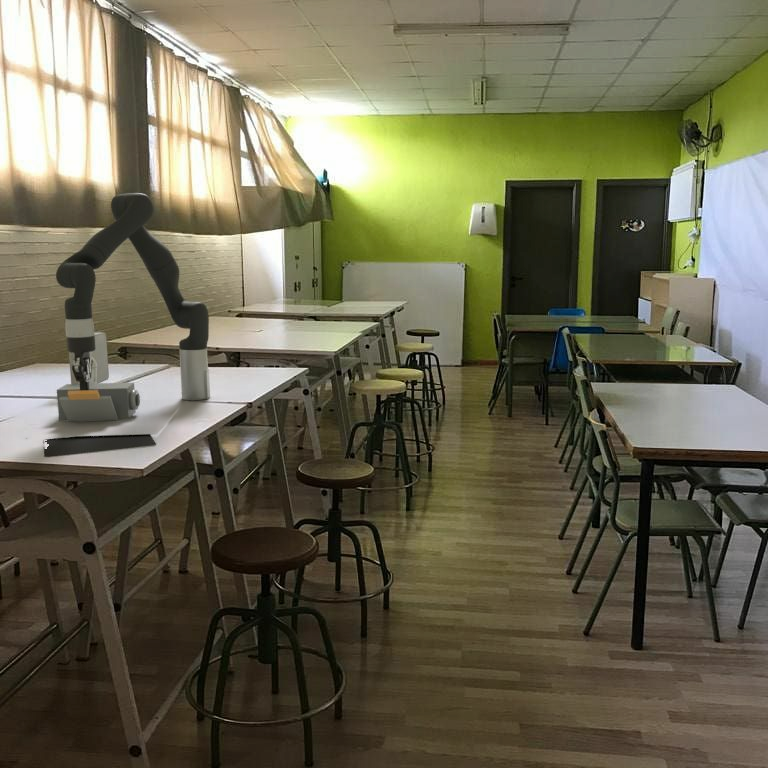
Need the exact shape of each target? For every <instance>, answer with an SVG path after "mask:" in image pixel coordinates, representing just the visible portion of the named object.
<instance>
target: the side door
mask: <svg viewBox="0 0 768 768" xmlns="http://www.w3.org/2000/svg"><path fill="white" fill-rule="evenodd" d="M68 396H69V397H60V398H59V401H60V403H61V406H62V408H63V410H64V413H65V415H66V418H67V420H66V421H67V422H95V421H99V422H100V421H104V422H105V421H118V420H119V419H118V417H117V414H116V411H115V408H114V405H113V402H112V399H111V396H100V395H99V392H98V390H81V391H68Z"/></svg>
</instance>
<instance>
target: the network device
mask: <svg viewBox="0 0 768 768" xmlns="http://www.w3.org/2000/svg"><path fill="white" fill-rule="evenodd" d="M94 333H95V346H96V349H95V350H94V351H92V354H91V356H92V357H93V358H94V359H95V361H96V363H97V381H96V382H97V383H104V382H105V381H108V380H109V378H110V373H109V370H110V369H109V358H108V357H109V355H108V343H107V342H108V341H107V333H106V332H94ZM74 355H75V354H74V353H73V352H72V353H71V352H68V357H69V358H68V360H69V371H70V373H69V374H70V384H79V382H78V381H76V379H75V376H74V373H73V370H72V366H75V365H74V363H73V359H74Z"/></svg>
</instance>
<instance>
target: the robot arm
mask: <svg viewBox="0 0 768 768" xmlns="http://www.w3.org/2000/svg"><path fill="white" fill-rule="evenodd" d="M110 210H111V213H112V216H113V218H114V220H115V221H114V222H112V223H111V224H109V225H107V226H105V227H104V228H102V229H101V230H98V231H97V232H96V233H95V234H94V235H92V236H91V238H89V240H88V241H87V242H86V243H85V244H84V246H82V248H81V249H79V250H78V251H77V252H75V253H74V254H72V255H71V256H69V257H67V258H66V259H65V260H64V261H63V262H61V263H60V264H59V266H58V267H57V270H56V272H55V279H56V282H57V283H58V285H59V286H60V287H62V288H65V289H74V293H73V295H72V297H68V298H65V300H64V315H65V339H66V350H67V353H69V352H71V353H72V352H73V353H74V354H75V355H74V359H73V363H74V365H75V366H72V370H73V373H74V376H75V379H76V381H78V382H80V383H79V385H80V391H81V390H89V382H88V381H90V378H91V374H92V366H93V360H92V359H91V357H90V354H89V352H92V351H94V350H95V349H96V346H95V333H96V332H95V325H94V320H93V308H92V302H93V297H94V293H95V292H94V291H95V289H96V288H95V287H96V282H97V281H96V278H97V277H96V274H95V273H96V272H95V270H98V269H99V268H101V267H102V266H103V265H104V264H105V263H106V261H107V260H108V259H109V258H110V257H111V255H112V254H113V253H114V252H115V251H116V250H117V249H118V248H119V247H120V246H121V245H122V244H123V243H124V242H125V241H126V240H129V241H130V242H131V243H132V246H133V247H134V250H136V252H137V254H138V256H139V258H140V259H141V260H142V261H141V262H142V263H143V264H144V267H145V269H146V270H147V272H148V273H149V275H150V277H151V279H152V280H153V282H154V283H155V285H156V287H157V289H158V291H159V293H160V294H161V296H162V298H163V300H164V303H165V305H166V307H167V310H168V312H169V314H170V317H171V319H172V321H173V323H174V324H175V326H177V327H178V328H180V329H186V330H188V329H189V335H188V336H187V337H185V338H183V339H181V340H180V341H179V343H178V344H179V349H178V350H179V365H180V385H181V386H180V388H181V399H182V400H186V401H199V400H200V401H201V400H209V398H210V397H211V389H210V387H211V386H210V384H211V383H210V369H209V365H208V364H209V363H208V361H209V360H208V342H209V335H210V334H209V332H210V331H209V327H210V325H209V323H210V317H209V310H208V307H207V305H206V304H205V303H204V302H201V301H187V300H185V298H184V297H183V295H182V293H181V291H180V289H179V282H180V281H179V280H180V267H179V265H178V263H177V261H176V260H175V258H174V256H173V254H172V252H171V250H170V249H169V248H168V247H167V246H166V245H165V244H164V243H162V242H161V241H160V240H159V238H156V236H154V235H153V234H151V233H150V232H149V231H148V230H147V228H146V227H145V226H144V225H146V224H147V223H148V222H149V221H150V220H151V219H152V217H153V214H154V203H153V201H152V199H151V198H150V197H149V195H147V194H145V193H141V192H140V193H139V192H131V193H129V192H128V193H120V194H119V193H118V194H117V195H116V194H115V196H113V197H112V199H111V202H110Z"/></svg>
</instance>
